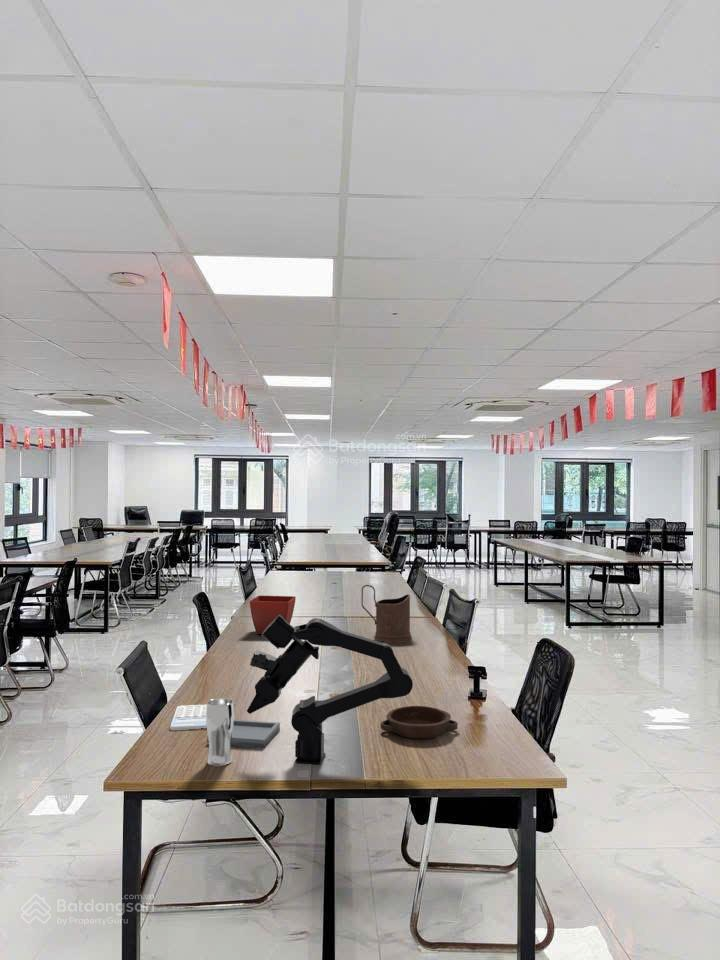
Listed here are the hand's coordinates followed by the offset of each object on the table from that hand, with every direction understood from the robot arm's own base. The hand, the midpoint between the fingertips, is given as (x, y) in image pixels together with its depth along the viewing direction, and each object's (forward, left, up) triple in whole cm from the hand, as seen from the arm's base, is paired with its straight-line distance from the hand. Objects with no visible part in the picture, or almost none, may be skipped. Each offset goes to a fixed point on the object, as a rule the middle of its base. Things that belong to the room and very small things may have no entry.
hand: (251, 707), depth 175 cm
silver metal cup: (+7, +3, -13) cm, 15 cm away
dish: (-40, -29, -14) cm, 51 cm away
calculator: (+27, -27, -14) cm, 41 cm away
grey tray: (+7, -15, -13) cm, 21 cm away
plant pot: (+43, -154, -13) cm, 160 cm away
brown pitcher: (-13, -153, -13) cm, 154 cm away
